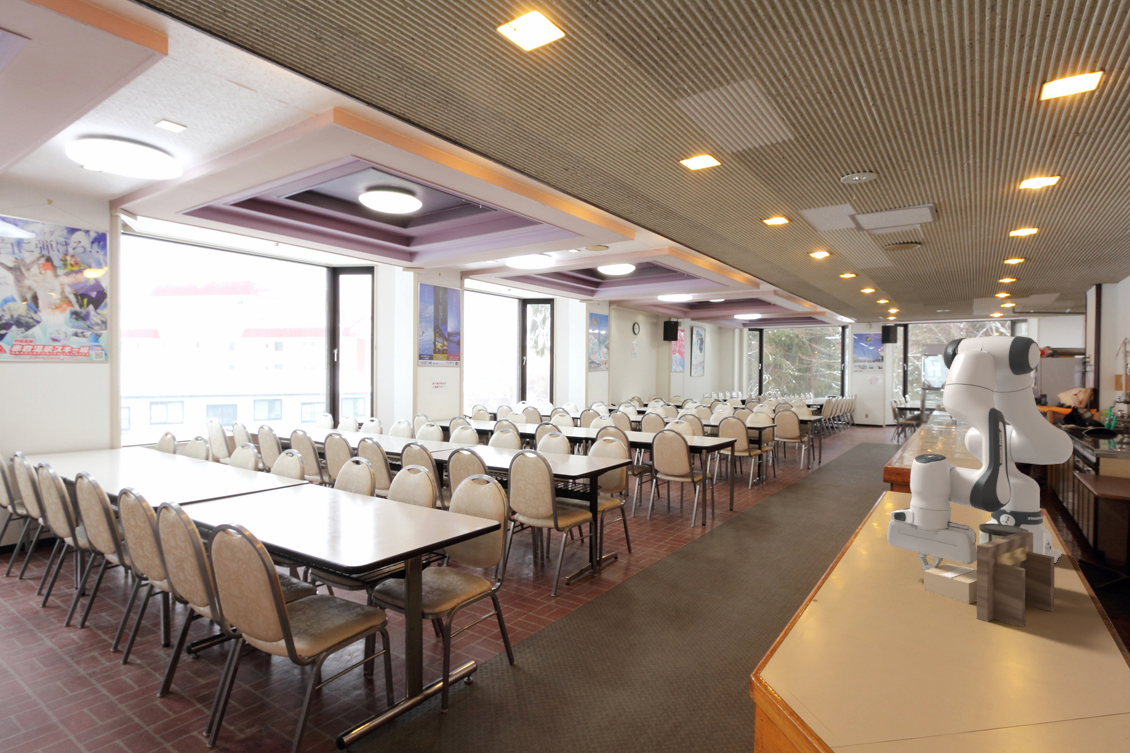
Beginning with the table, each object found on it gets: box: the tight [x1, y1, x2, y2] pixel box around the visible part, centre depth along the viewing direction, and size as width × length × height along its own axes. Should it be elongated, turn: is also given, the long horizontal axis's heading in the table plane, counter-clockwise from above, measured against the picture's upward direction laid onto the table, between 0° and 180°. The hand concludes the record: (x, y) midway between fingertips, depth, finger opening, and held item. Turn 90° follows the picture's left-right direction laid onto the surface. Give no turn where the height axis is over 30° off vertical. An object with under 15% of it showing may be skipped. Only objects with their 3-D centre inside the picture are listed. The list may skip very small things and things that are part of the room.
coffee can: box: [978, 522, 1029, 545], centre depth 148 cm, size 10×10×14 cm
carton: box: [923, 563, 977, 605], centre depth 141 cm, size 12×10×5 cm
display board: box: [976, 531, 1055, 628], centre depth 129 cm, size 24×7×16 cm, turn 122°
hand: (930, 571), depth 146 cm, fingers closed
